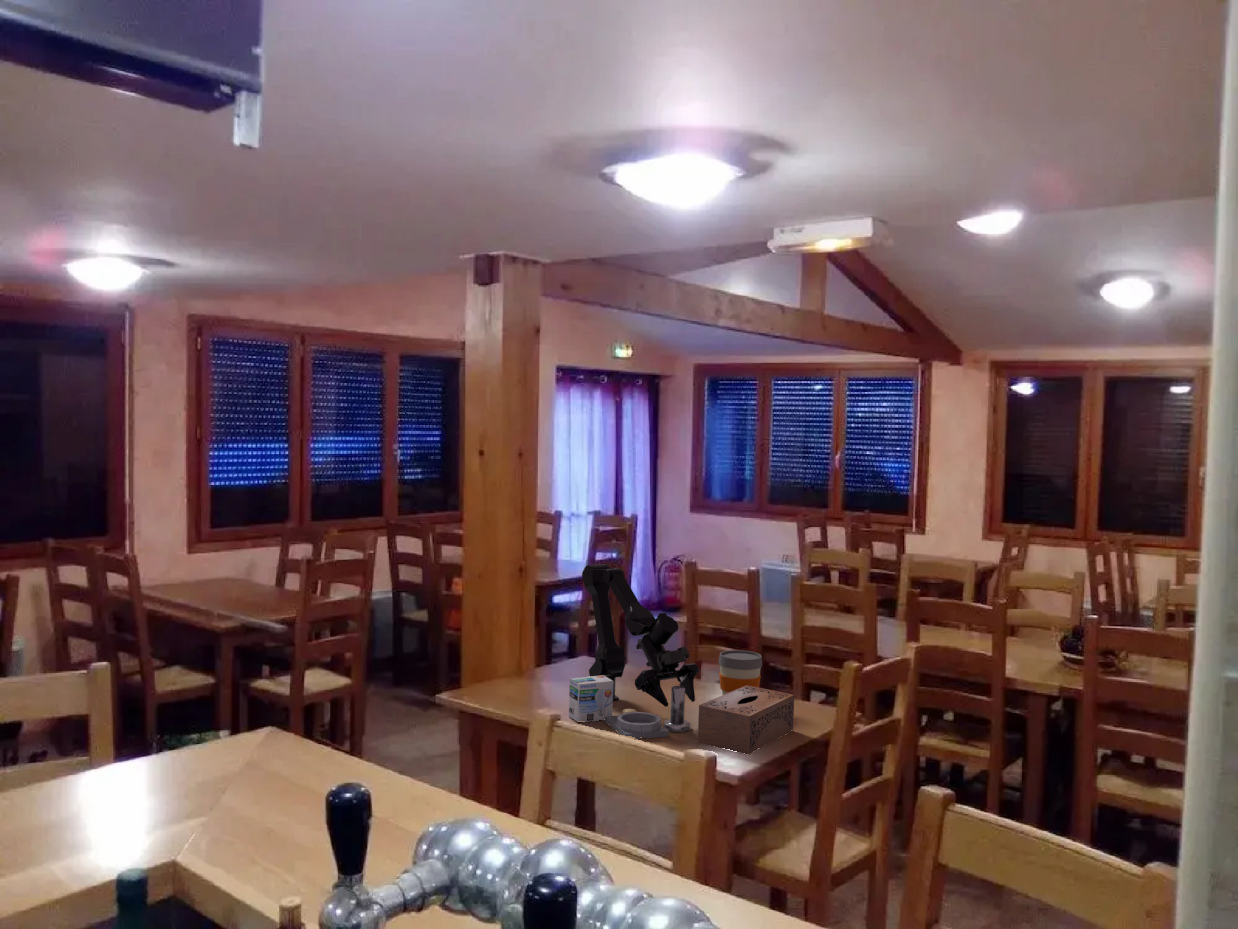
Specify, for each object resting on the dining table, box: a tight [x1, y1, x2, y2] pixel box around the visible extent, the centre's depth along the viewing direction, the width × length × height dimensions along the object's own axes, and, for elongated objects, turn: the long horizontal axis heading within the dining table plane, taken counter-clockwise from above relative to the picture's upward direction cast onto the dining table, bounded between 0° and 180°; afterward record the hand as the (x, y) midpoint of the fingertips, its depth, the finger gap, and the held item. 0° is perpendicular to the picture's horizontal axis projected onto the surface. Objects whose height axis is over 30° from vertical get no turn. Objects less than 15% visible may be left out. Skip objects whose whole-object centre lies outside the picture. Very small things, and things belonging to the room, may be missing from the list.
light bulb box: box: [568, 675, 614, 723], centre depth 275 cm, size 11×7×11 cm, turn 117°
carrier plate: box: [603, 708, 670, 740], centre depth 267 cm, size 16×12×4 cm
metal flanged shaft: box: [663, 685, 691, 733], centre depth 269 cm, size 7×7×11 cm
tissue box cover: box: [697, 685, 796, 755], centre depth 264 cm, size 26×14×10 cm, turn 145°
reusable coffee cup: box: [718, 649, 763, 696], centre depth 292 cm, size 13×12×15 cm
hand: (680, 703), depth 268 cm, fingers open, 9 cm apart
